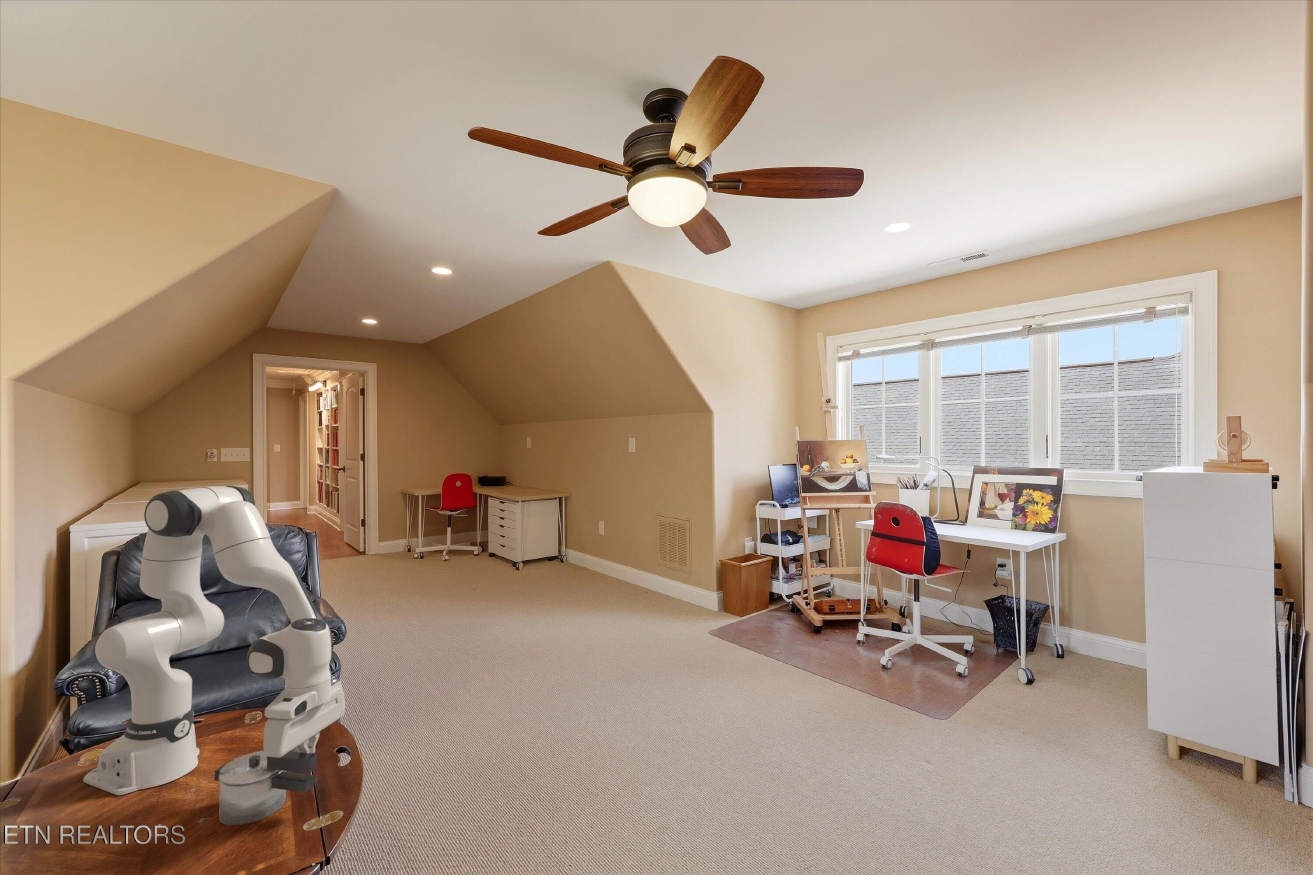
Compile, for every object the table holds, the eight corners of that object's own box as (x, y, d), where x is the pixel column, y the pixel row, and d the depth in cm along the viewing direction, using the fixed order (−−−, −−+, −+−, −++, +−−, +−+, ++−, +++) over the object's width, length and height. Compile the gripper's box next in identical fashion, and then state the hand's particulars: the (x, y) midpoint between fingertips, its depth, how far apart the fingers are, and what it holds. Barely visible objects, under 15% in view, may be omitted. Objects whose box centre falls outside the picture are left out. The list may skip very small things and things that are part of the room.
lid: (203, 783, 120) (204, 765, 120) (251, 752, 133) (251, 735, 133) (291, 791, 118) (292, 772, 118) (332, 758, 130) (332, 742, 130)
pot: (193, 819, 121) (194, 781, 121) (242, 786, 133) (243, 751, 133) (286, 833, 117) (287, 794, 118) (329, 797, 129) (330, 762, 129)
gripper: (329, 674, 138) (328, 731, 138) (257, 713, 118) (256, 780, 118) (352, 676, 137) (352, 733, 137) (284, 715, 117) (283, 783, 117)
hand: (307, 755), depth 127 cm, fingers closed
